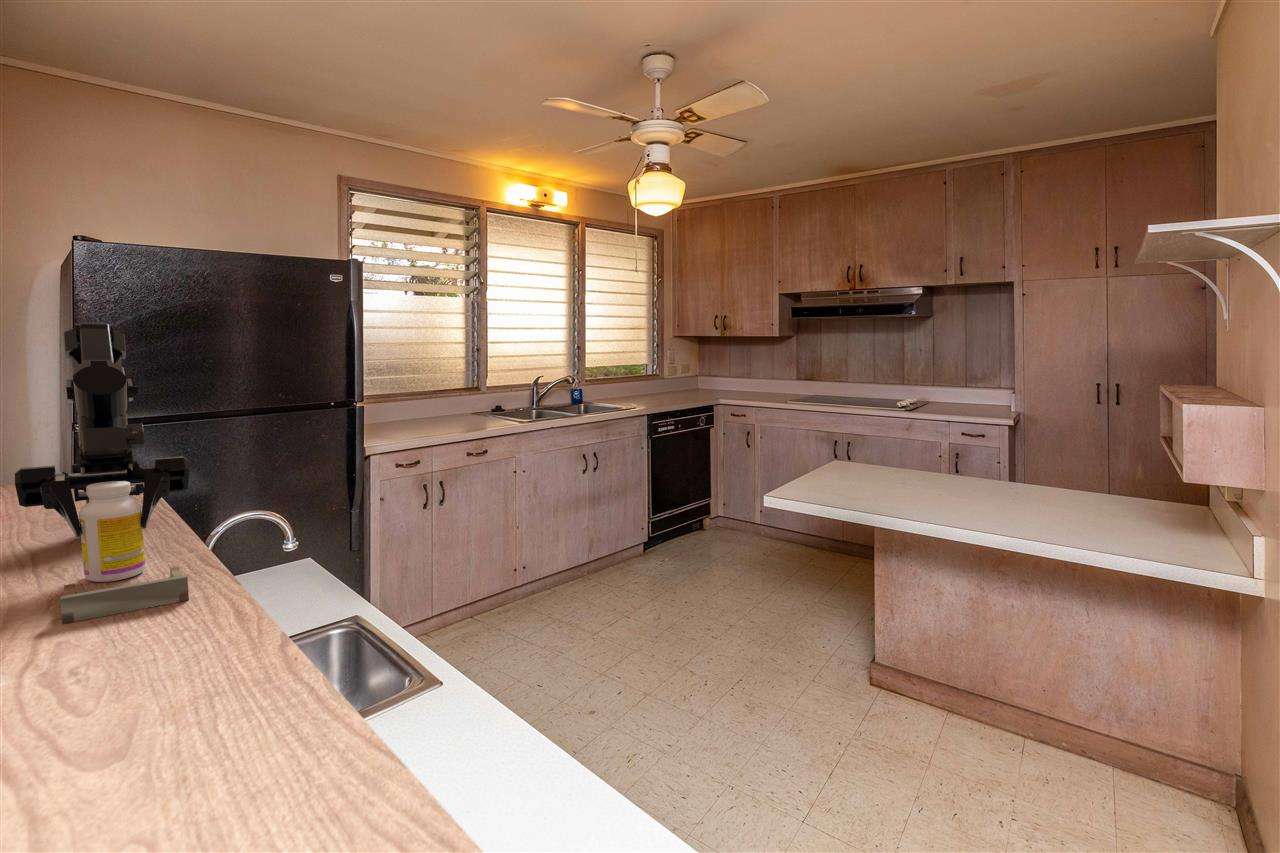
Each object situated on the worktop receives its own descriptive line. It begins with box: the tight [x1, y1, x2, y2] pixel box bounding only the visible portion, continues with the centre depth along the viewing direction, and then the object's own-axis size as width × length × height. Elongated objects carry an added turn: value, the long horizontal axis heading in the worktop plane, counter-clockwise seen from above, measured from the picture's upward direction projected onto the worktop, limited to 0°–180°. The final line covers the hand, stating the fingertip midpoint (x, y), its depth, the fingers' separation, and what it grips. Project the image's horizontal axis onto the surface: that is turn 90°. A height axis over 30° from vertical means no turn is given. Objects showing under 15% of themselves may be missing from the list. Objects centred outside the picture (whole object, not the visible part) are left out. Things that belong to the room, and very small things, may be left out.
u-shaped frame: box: [59, 566, 190, 625], centre depth 83 cm, size 11×12×3 cm
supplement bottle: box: [78, 481, 146, 583], centre depth 90 cm, size 7×7×13 cm
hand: (112, 530), depth 88 cm, fingers closed on supplement bottle, 7 cm apart
